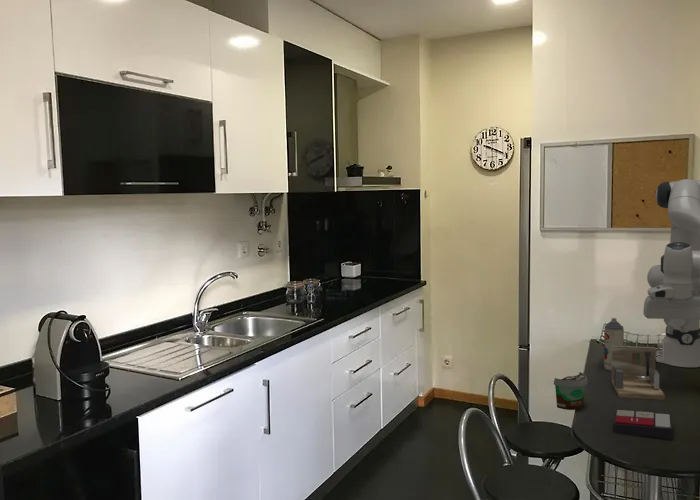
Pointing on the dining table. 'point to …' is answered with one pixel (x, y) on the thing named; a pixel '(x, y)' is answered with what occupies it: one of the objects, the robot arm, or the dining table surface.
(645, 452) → the dining table surface
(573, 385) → the food container
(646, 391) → the gauge frame
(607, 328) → the aerosol can
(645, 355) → the dark bent bar
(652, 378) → the slab with metal rod
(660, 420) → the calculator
